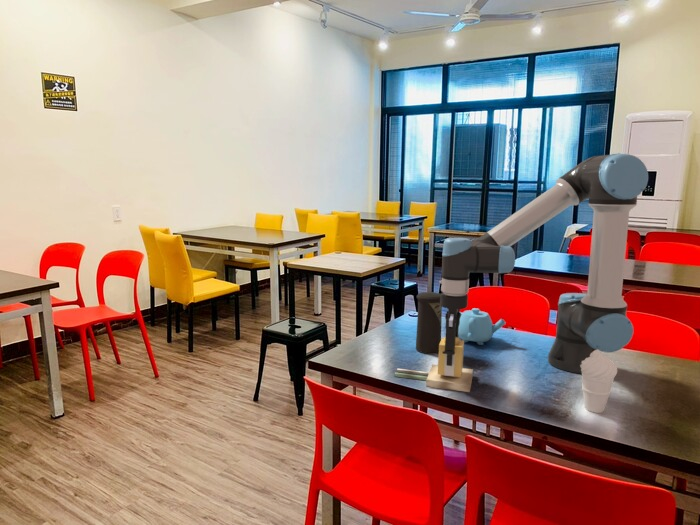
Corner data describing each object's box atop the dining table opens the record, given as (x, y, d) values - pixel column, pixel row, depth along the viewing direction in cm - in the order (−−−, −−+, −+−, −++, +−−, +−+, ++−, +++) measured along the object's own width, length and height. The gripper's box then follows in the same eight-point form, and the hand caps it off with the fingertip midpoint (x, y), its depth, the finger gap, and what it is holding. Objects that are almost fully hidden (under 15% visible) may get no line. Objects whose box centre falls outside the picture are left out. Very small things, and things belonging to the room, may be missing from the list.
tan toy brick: (462, 369, 142) (464, 336, 140) (460, 377, 136) (462, 343, 134) (440, 366, 144) (442, 333, 142) (437, 374, 138) (439, 340, 136)
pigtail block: (472, 375, 144) (474, 350, 143) (469, 392, 133) (471, 364, 132) (399, 366, 151) (400, 341, 149) (391, 381, 139) (392, 355, 138)
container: (441, 355, 161) (443, 296, 157) (413, 353, 163) (415, 295, 159) (441, 346, 169) (444, 291, 166) (415, 344, 171) (417, 289, 168)
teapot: (442, 343, 173) (444, 311, 171) (454, 330, 188) (455, 300, 186) (500, 352, 165) (502, 318, 163) (507, 338, 180) (509, 307, 178)
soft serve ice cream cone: (601, 401, 128) (607, 344, 125) (619, 417, 120) (626, 355, 117) (570, 402, 128) (575, 344, 125) (586, 417, 119) (592, 355, 117)
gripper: (444, 285, 146) (441, 357, 150) (436, 299, 128) (432, 382, 132) (470, 287, 144) (466, 360, 148) (465, 302, 126) (460, 385, 130)
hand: (450, 370), depth 140 cm, fingers closed on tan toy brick, 6 cm apart
